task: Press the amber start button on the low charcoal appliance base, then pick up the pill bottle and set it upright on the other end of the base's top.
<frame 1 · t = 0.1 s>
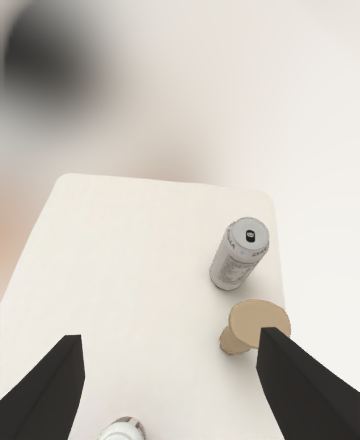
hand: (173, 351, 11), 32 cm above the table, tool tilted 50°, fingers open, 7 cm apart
energy drink can: (225, 275, 47), on the table
handle: (228, 343, 41), on the table
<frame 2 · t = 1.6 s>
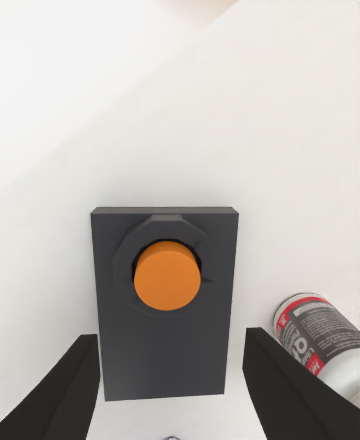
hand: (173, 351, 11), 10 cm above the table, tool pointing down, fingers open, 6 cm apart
base: (165, 301, 22), on the table
pill bottle: (299, 316, 24), on the table
start button: (167, 275, 17), point 4 cm above the table, slide at 0.1 cm
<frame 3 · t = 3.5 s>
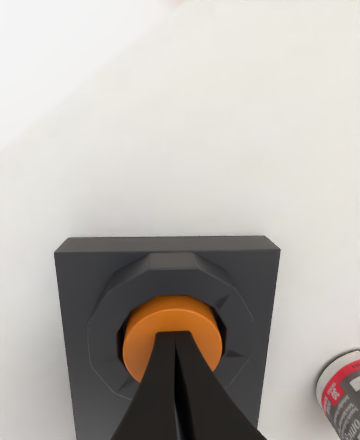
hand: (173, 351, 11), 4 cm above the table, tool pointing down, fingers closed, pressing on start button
base: (168, 364, 16), on the table
pill bottle: (350, 378, 17), on the table
start button: (172, 337, 11), point 3 cm above the table, slide at -0.7 cm, touching gripper
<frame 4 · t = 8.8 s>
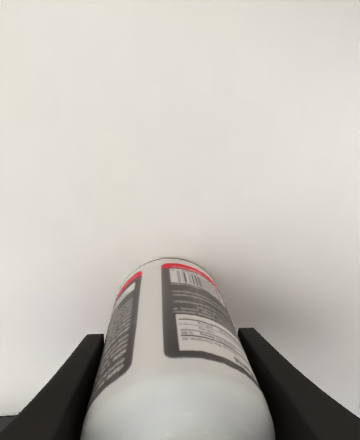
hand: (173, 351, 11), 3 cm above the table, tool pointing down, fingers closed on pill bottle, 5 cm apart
pill bottle: (168, 300, 14), on the table, touching gripper
when the fingers open (5 cm above the table, at t = 13.2 s): pill bottle stays where it is, resting on base.
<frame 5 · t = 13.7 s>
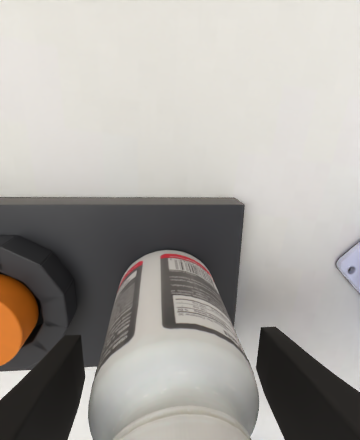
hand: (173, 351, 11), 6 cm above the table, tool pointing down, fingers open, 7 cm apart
base: (102, 276, 16), on the table
pill bottle: (167, 289, 15), point 2 cm above the table, touching base
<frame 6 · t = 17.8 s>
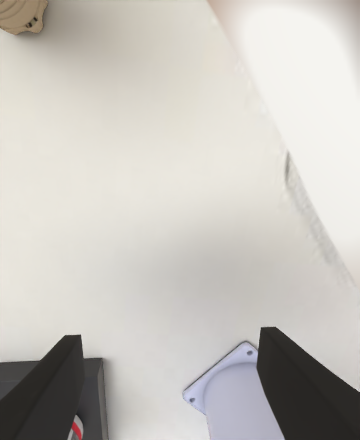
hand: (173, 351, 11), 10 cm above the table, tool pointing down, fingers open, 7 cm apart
base: (13, 408, 23), on the table
pill bottle: (52, 424, 22), point 2 cm above the table, touching base
handle: (23, 9, 16), on the table
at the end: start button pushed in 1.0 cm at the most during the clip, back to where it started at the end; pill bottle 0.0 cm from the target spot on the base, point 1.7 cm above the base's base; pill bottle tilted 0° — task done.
